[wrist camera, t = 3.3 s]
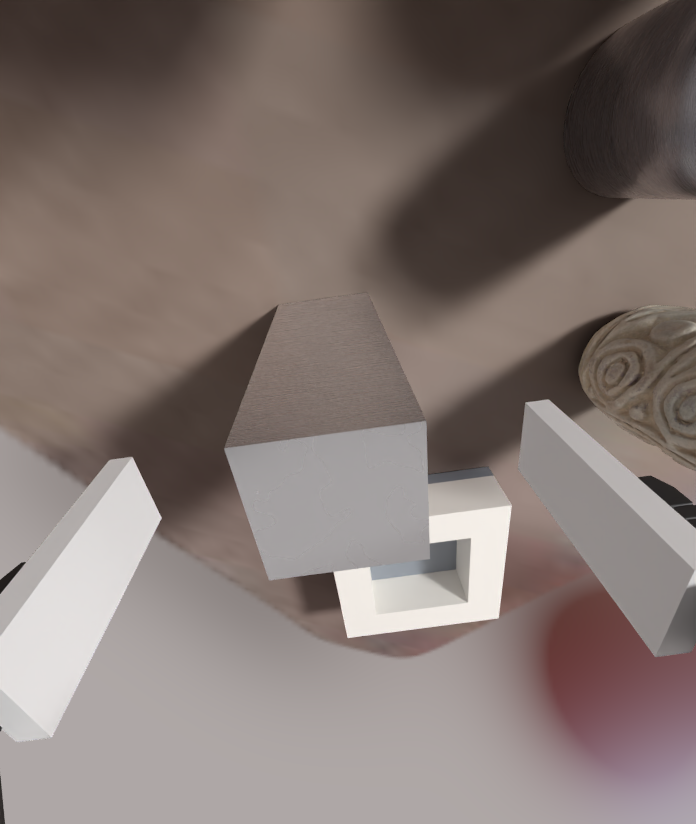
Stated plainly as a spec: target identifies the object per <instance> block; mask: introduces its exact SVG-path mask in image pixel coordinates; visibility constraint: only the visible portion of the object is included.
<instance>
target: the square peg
mask: <svg viewBox="0 0 696 824" xmlns="http://www.w3.org/2000/svg"><path fill="white" fill-rule="evenodd" d="M224 450H225V453H226V456H227V459H228V462H229V465H230V467H231V470H232V473H233V476H234V479H235V482H236V485H237V488H238V491H239V494H240V497H241V500H242V502H243V505H244V508H245V511H246V514H247V517H248V520H249V523H250V526H251V529H252V532H253V535H254V537H255V540H256V543H257V546H258V549H259V552H260V555H261V558H262V561H263V564H264V567H265V569H266V572H267V575H268V578H269V580H275V579H283V578H291V577H298V576H306V575H313V574H321V573H328V572H336V571H343V570H351V569H358V568H366V567H374V566H381V565H389V564H396V563H404V562H411V561H419V560H426V559H430V539H429V502H428V465H427V427H426V419H425V417H424V415H423V413H422V410H421V408H420V406H419V404H418V402H417V399H416V397H415V395H414V393H413V391H412V388H411V386H410V384H409V382H408V380H407V377H406V375H405V373H404V371H403V369H402V367H401V364H400V362H399V360H398V358H397V356H396V353H395V351H394V349H393V347H392V345H391V342H390V340H389V338H388V336H387V334H386V332H385V329H384V327H383V325H382V323H381V321H380V318H379V316H378V314H377V312H376V310H375V307H374V305H373V303H372V301H371V299H370V296H369V294H368V292H366V293H359V294H352V295H345V296H338V297H331V298H323V299H316V300H309V301H302V302H295V303H287V304H280V305H278V308H277V311H276V313H275V316H274V318H273V321H272V324H271V326H270V329H269V332H268V334H267V337H266V339H265V342H264V345H263V347H262V350H261V353H260V355H259V358H258V360H257V363H256V366H255V368H254V371H253V374H252V376H251V379H250V381H249V384H248V387H247V389H246V392H245V395H244V397H243V400H242V402H241V405H240V408H239V410H238V413H237V415H236V418H235V421H234V423H233V426H232V429H231V431H230V434H229V436H228V439H227V442H226V444H225V447H224Z"/></svg>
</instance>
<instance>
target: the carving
mask: <svg viewBox="0 0 696 824" xmlns="http://www.w3.org/2000/svg"><path fill="white" fill-rule="evenodd" d="M578 372H579V378H580V382H581V384H582V388H583V390H584V392H585V393H586V395H587V396H588V397H589V399H590V400H591V401H592V402H593V403H594V405H595V406H596V407H597V408H598V409H599V410H600V411H602V412H603V413H604V414H605V415H606V416H607V417H608V418H610V419H611V420H613V421H614V422H615V423H616V424H617V425H618V426H619V427H621V428H622V429H624V430H625V431H627V432H629V433H630V434H632V435H634V436H636V437H637V438H639V439H641V440H643V441H644V442H646V443H648V444H650V445H653V446H658V447H659V448H660V449H661V451H662V452H663V453H665V454H666V455H668V456H670V457H672V459H673V460H674V461H675V462H677V463H679V464H680V465H683V466H685V467H687V468H689V469H692V470H694V471H696V309H693V308H686V307H677V306H658V305H649V306H644V307H640V308H637V309H635V310H633V311H630V312H627V313H625V314H623V315H620V316H619V317H617V318H615V319H614V320H612V321H611V322H609V323H608V324H606V325H605V326H603V327H602V328H601V329H600V330H598V331H597V332H596V333H595V334H594V335H593V337H592V338H591V340H590V341H589V343H588V345H587V347H586V348H585V350H584V352H583V355H582V358H581V361H580V364H579V369H578Z"/></svg>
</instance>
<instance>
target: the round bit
mask: <svg viewBox="0 0 696 824" xmlns="http://www.w3.org/2000/svg"><path fill="white" fill-rule="evenodd" d="M564 149H565V155H566V159H567V162H568V166H569V168H570V170H571V172H572V174H573V176H574V177H575V178H576V180H577V181H578V182H579V183H580V184H581V185H582V186H583V187H584V188H585V189H587V190H588V191H589V192H591V193H594V194H596V195H599V196H603V197H610V198H647V199H695V200H696V0H669V1H667V2H665V3H663V4H661V5H660V6H658V7H656V8H654V9H652V10H650V11H649V12H647V13H645V14H643V15H641V16H640V17H638V18H636V19H634V20H632V21H631V22H629V23H627V24H625V25H624V26H623V27H621V28H620V29H619V30H617V31H616V32H615V33H614V34H613V35H611V36H610V37H609V38H608V39H607V40H606V41H605V42H604V43H603V44H602V45H601V46H600V48H599V49H598V50H597V51H596V52H595V54H594V55H593V56H592V58H591V59H590V60H589V62H588V63H587V65H586V66H585V68H584V70H583V71H582V73H581V75H580V77H579V79H578V81H577V83H576V85H575V87H574V90H573V92H572V95H571V98H570V101H569V104H568V108H567V112H566V117H565V123H564Z"/></svg>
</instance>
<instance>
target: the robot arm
mask: <svg viewBox="0 0 696 824" xmlns="http://www.w3.org/2000/svg"><path fill="white" fill-rule="evenodd" d="M518 470H519V471H520V473H521V474H522V475H523V477H524V478H525V479H526V481H527V482H528V483H529V485H530V486H531V488H532V489H533V490H534V492H535V493H536V494H537V496H538V497H539V499H540V500H541V501H542V503H543V504H544V505H545V507H546V508H547V509H548V511H549V512H550V514H551V515H552V516H553V518H554V519H555V520H556V522H557V523H558V524H559V526H560V527H561V529H562V530H563V531H564V533H565V534H566V535H567V537H568V538H569V540H570V541H571V542H572V544H573V545H574V546H575V548H576V549H577V550H578V552H579V553H580V555H581V556H582V557H583V559H584V560H585V561H586V563H587V564H588V566H589V567H590V568H591V570H592V571H593V572H594V574H595V575H596V576H597V578H598V579H599V580H600V582H601V583H602V585H603V586H604V587H605V589H606V590H607V591H608V593H609V594H610V596H611V597H612V598H613V600H614V601H615V602H616V604H617V605H618V607H619V608H620V609H621V611H622V612H623V613H624V615H625V616H626V617H627V618H628V620H629V621H630V623H631V624H632V626H633V627H634V628H635V630H636V631H637V632H638V634H639V635H640V636H641V638H642V639H643V641H644V642H645V643H646V645H647V646H648V647H649V649H650V650H651V652H652V653H653V654H654V656H655V657H659V656H666V655H674V654H681V653H689V652H691V651H692V649H693V647H694V646H695V643H696V505H693V504H692V501H690V500H689V499H688V498H687V497H685V496H684V495H683V494H682V493H680V492H679V491H678V490H677V489H676V488H674V487H672V486H670V485H668V484H666V483H664V482H662V481H660V480H658V479H656V478H654V477H652V476H644V477H636V476H635V475H634V474H633V473H632V472H631V471H630V470H628V469H627V468H626V467H625V466H624V465H623V464H622V463H620V462H619V461H618V460H617V459H616V458H615V457H614V456H612V455H611V454H610V453H609V452H608V451H607V450H606V449H604V448H603V447H602V446H601V445H600V444H599V443H598V442H596V441H595V440H594V439H593V438H592V437H591V436H590V435H589V434H587V433H586V432H585V431H584V430H583V429H582V428H581V427H579V426H578V425H577V424H576V423H575V422H574V421H573V420H571V419H570V418H569V417H568V416H567V415H566V414H565V413H563V412H562V411H561V410H560V409H559V408H558V407H557V406H555V405H554V404H553V403H552V402H551V401H550V400H549V399H548V400H540V401H533V402H526V403H525V411H524V420H523V429H522V438H521V447H520V457H519V466H518ZM160 520H161V516H160V514H159V512H158V509H157V507H156V505H155V503H154V501H153V499H152V497H151V495H150V493H149V491H148V489H147V486H146V484H145V482H144V480H143V478H142V476H141V474H140V472H139V470H138V468H137V466H136V463H135V461H134V459H133V457H127V458H120V459H113V460H109V461H108V462H107V464H106V465H105V466H104V467H103V469H102V470H101V471H100V472H99V473H98V475H97V476H96V477H95V478H94V480H93V481H92V482H91V483H90V485H89V486H88V487H87V488H86V489H85V491H84V492H83V493H82V495H81V496H80V497H79V498H78V499H77V501H76V502H75V503H74V504H73V505H72V507H71V508H70V509H69V510H68V512H67V513H66V514H65V515H64V516H63V518H62V519H61V520H60V522H59V523H58V524H57V525H56V526H55V528H54V529H53V530H52V531H51V533H50V534H49V535H48V536H47V538H46V539H45V540H44V541H43V542H42V544H41V545H40V546H39V547H38V548H37V550H36V551H35V552H34V553H33V555H32V556H31V557H30V558H29V560H28V561H27V562H23V563H20V564H19V565H18V566H17V567H15V568H14V569H13V570H12V571H11V572H9V573H8V574H7V575H6V576H4V577H3V578H2V579H1V580H0V731H1V729H2V730H3V731H4V732H5V733H7V734H8V735H9V736H10V737H11V738H12V739H14V740H15V741H16V742H23V741H30V740H37V739H45V738H52V736H53V734H54V732H55V730H56V728H57V726H58V724H59V722H60V720H61V718H62V716H63V714H64V712H65V710H66V708H67V706H68V704H69V702H70V700H71V698H72V696H73V694H74V692H75V690H76V688H77V686H78V684H79V682H80V680H81V678H82V676H83V674H84V672H85V670H86V668H87V666H88V664H89V662H90V660H91V658H92V656H93V654H94V652H95V650H96V648H97V646H98V644H99V642H100V640H101V638H102V636H103V634H104V632H105V630H106V628H107V626H108V624H109V622H110V620H111V618H112V616H113V614H114V612H115V610H116V608H117V606H118V604H119V602H120V600H121V598H122V596H123V594H124V592H125V590H126V588H127V586H128V584H129V582H130V580H131V578H132V576H133V574H134V572H135V570H136V568H137V566H138V564H139V562H140V560H141V558H142V556H143V554H144V552H145V550H146V548H147V546H148V544H149V542H150V540H151V538H152V536H153V534H154V532H155V530H156V528H157V526H158V524H159V522H160ZM0 824H5V820H4V809H3V800H2V789H1V778H0Z"/></svg>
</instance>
